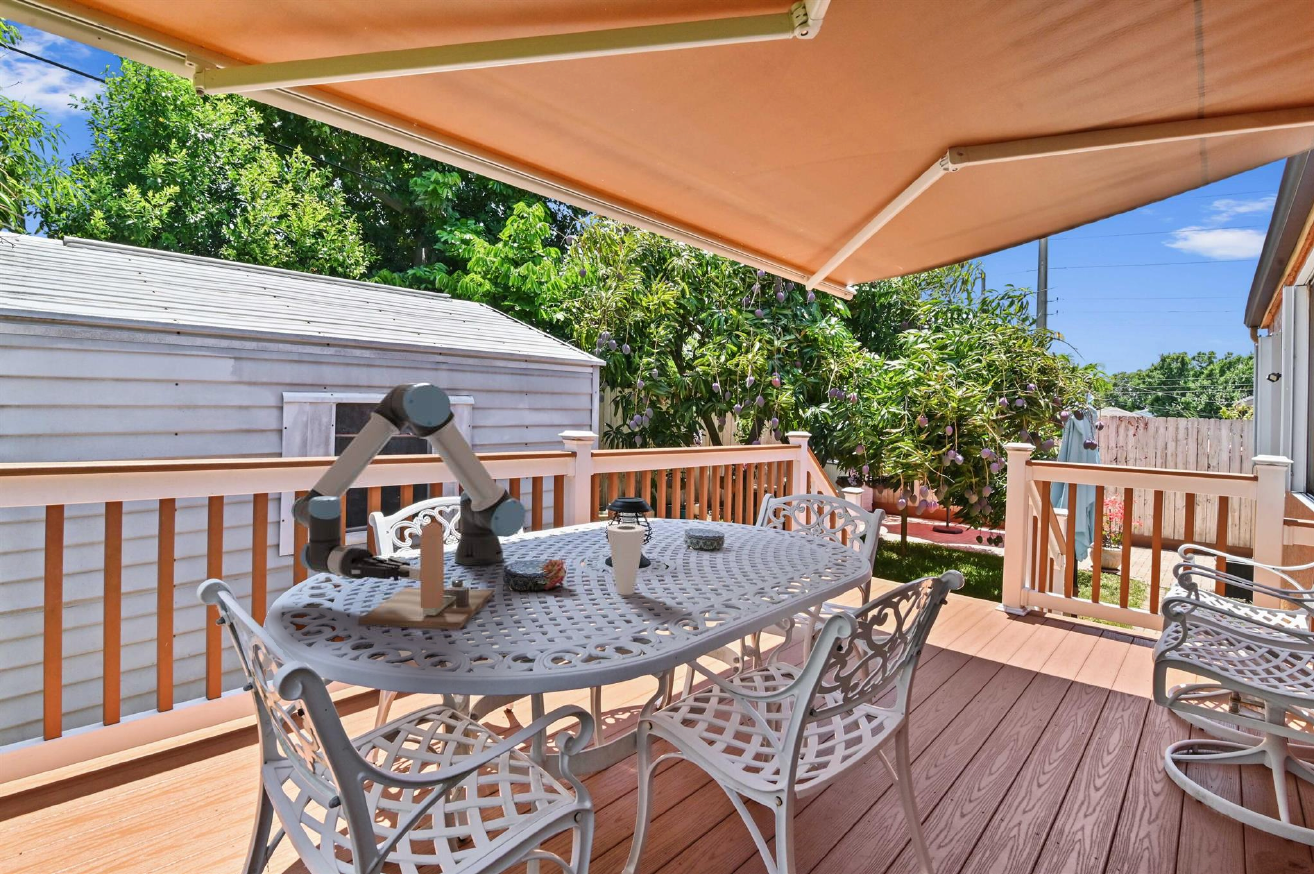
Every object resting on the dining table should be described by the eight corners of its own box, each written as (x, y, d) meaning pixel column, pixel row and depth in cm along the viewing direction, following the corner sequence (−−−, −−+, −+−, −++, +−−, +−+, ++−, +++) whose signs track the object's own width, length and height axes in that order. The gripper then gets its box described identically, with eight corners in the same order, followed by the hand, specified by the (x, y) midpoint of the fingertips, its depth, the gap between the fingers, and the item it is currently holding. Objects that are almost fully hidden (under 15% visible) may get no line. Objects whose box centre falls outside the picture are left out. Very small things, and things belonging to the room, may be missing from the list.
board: (405, 592, 185) (405, 587, 185) (493, 595, 184) (493, 590, 184) (358, 625, 159) (358, 619, 159) (460, 629, 158) (459, 622, 158)
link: (451, 591, 182) (451, 509, 180) (468, 592, 181) (468, 509, 180) (418, 616, 161) (418, 524, 160) (437, 617, 161) (437, 524, 159)
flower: (562, 574, 200) (546, 554, 197) (581, 574, 193) (565, 553, 191) (541, 598, 194) (525, 578, 191) (560, 599, 187) (544, 578, 185)
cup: (598, 592, 189) (598, 527, 187) (625, 584, 196) (626, 522, 195) (625, 600, 181) (626, 533, 180) (652, 592, 189) (653, 528, 188)
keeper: (447, 592, 181) (447, 576, 180) (480, 593, 180) (480, 577, 180) (431, 606, 169) (431, 589, 169) (465, 607, 169) (465, 590, 168)
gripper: (372, 571, 179) (441, 583, 169) (329, 583, 168) (401, 597, 157) (372, 542, 179) (441, 553, 168) (329, 552, 167) (400, 565, 157)
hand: (422, 574), depth 163 cm, fingers closed
